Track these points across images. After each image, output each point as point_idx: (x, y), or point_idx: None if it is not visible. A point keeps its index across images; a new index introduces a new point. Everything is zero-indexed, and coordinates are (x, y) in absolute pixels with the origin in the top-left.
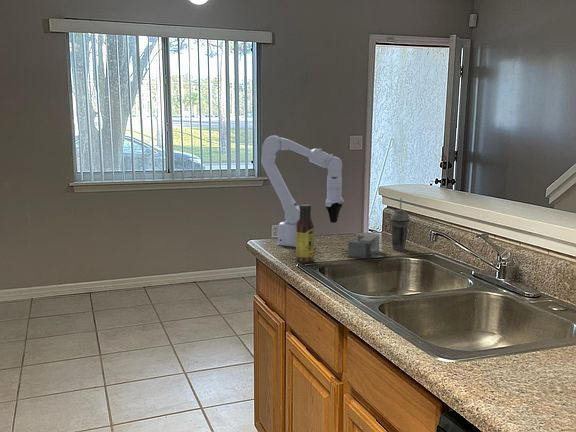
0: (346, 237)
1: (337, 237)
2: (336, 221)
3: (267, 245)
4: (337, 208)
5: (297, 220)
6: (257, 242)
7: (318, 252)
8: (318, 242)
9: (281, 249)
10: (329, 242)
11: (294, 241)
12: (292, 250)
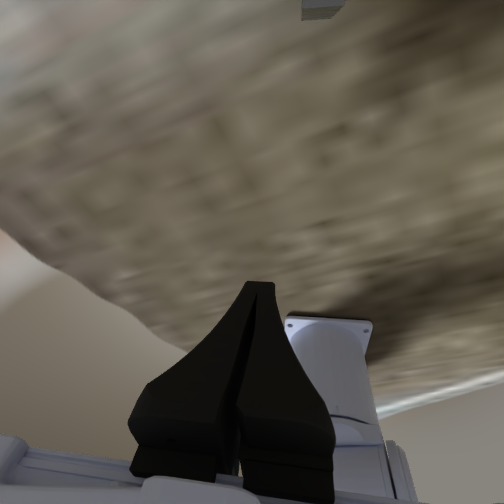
0: (64, 209)
1: (97, 244)
2: (254, 285)
3: None
4: (322, 399)
5: (402, 453)
6: None
7: (459, 226)
8: (239, 283)
9: (423, 355)
10: (213, 245)
11: (362, 352)
12: (434, 324)
